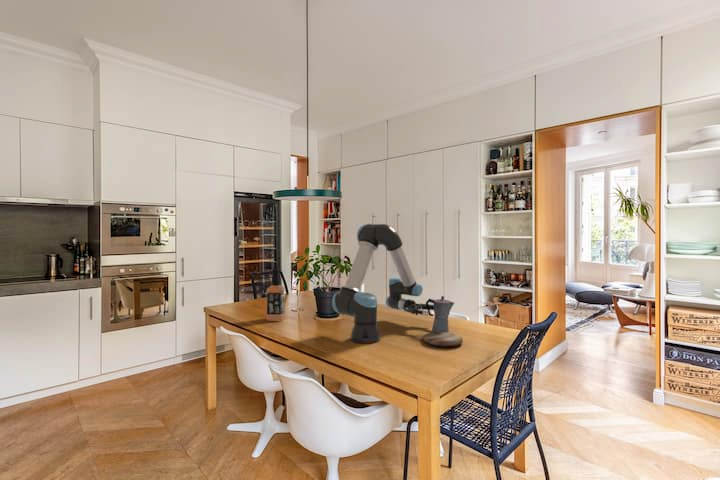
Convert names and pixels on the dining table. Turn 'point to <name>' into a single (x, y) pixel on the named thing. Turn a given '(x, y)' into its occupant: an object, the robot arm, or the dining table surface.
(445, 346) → the turntable base
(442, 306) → the moka pot
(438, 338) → the disc
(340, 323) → the dining table surface
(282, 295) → the whiskey bottle
